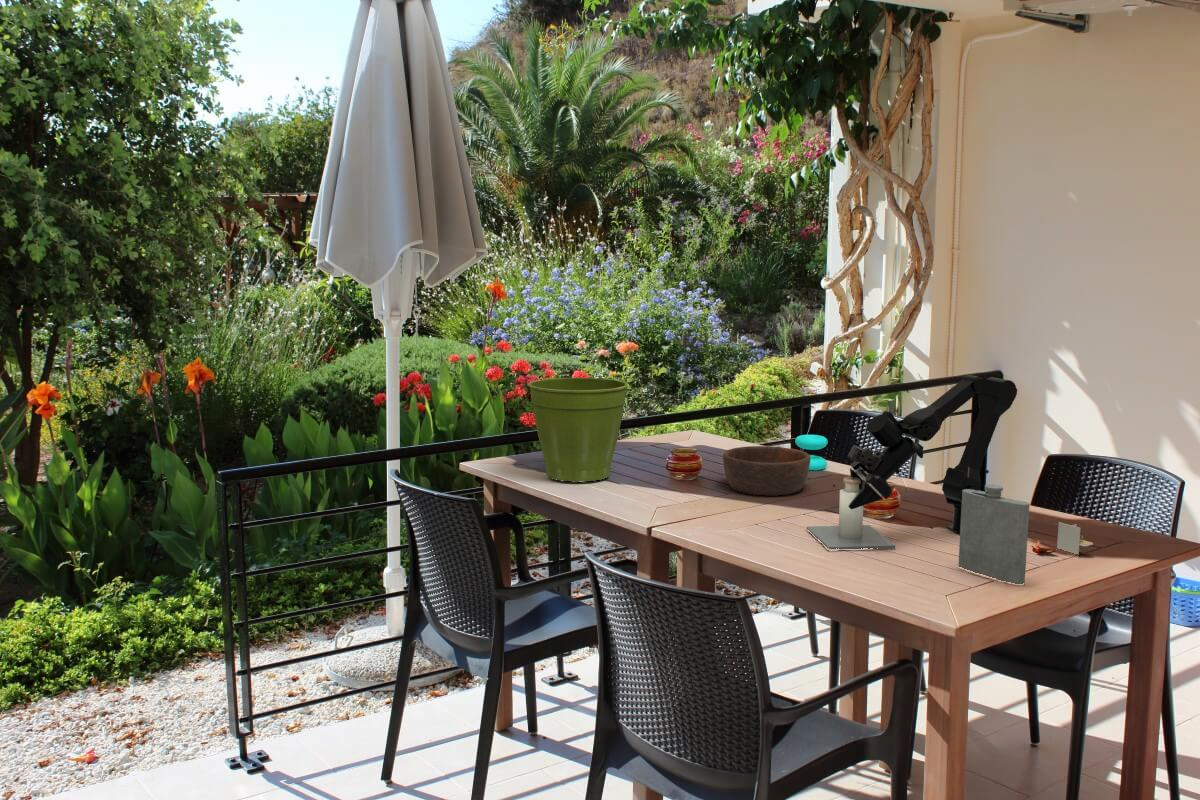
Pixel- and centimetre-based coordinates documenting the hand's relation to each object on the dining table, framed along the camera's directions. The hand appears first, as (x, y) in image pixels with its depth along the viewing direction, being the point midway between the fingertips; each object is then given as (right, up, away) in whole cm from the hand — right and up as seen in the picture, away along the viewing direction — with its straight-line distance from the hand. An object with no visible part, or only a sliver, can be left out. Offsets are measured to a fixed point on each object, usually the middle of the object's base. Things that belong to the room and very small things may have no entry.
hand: (845, 503), depth 259 cm
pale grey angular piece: (+50, -11, -10) cm, 52 cm away
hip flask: (+25, -13, -26) cm, 39 cm away
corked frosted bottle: (+2, -8, +1) cm, 8 cm away
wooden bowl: (-11, -1, +54) cm, 55 cm away
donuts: (+8, +3, +81) cm, 82 cm away
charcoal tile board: (+1, -9, +1) cm, 9 cm away
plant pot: (-65, +1, +68) cm, 95 cm away
